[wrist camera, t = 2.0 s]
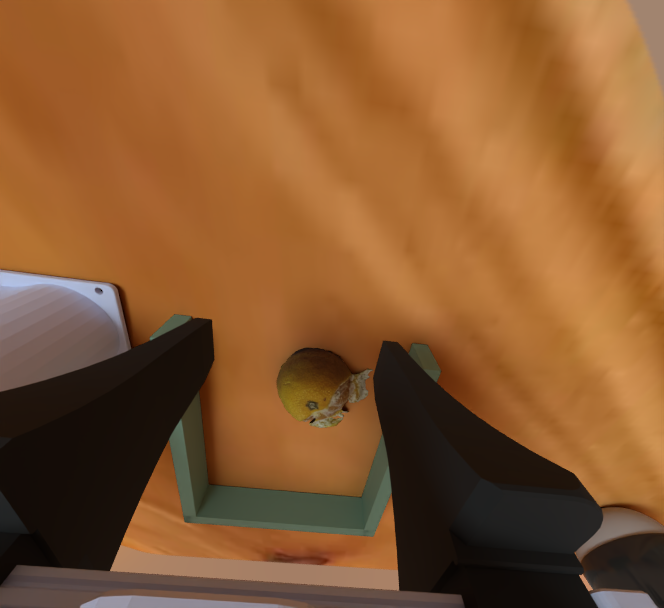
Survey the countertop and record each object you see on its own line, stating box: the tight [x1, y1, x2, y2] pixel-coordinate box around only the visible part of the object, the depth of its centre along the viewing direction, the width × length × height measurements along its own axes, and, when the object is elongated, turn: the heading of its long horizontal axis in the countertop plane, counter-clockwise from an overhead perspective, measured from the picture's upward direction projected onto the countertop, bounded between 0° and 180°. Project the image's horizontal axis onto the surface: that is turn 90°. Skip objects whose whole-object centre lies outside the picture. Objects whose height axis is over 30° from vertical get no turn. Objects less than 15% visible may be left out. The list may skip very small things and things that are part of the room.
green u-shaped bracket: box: [150, 314, 441, 537], centre depth 24 cm, size 19×22×3 cm
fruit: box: [277, 348, 373, 428], centre depth 21 cm, size 8×8×4 cm
